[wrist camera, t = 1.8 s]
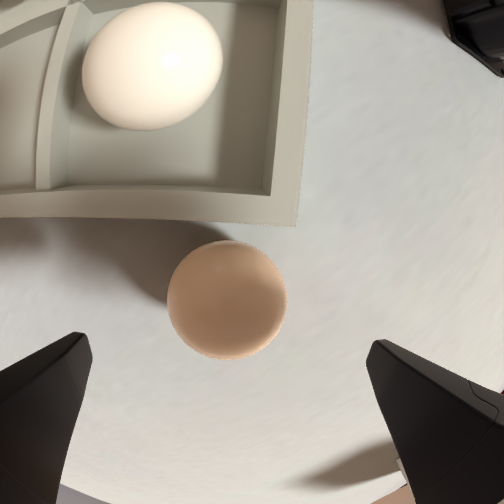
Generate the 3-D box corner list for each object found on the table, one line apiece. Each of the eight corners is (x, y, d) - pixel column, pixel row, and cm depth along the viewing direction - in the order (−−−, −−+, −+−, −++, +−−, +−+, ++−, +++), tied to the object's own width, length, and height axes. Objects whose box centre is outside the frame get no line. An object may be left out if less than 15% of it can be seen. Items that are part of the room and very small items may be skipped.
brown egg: (280, 230, 13) (312, 270, 8) (269, 319, 14) (288, 383, 10) (176, 224, 12) (151, 263, 8) (177, 316, 14) (163, 381, 9)
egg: (228, 36, 9) (234, -26, 4) (216, 138, 10) (213, 122, 6) (121, 40, 8) (77, -8, 4) (106, 138, 10) (43, 131, 5)
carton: (299, -82, 6) (310, -106, 3) (278, 211, 13) (295, 226, 10) (24, -41, 4) (8, -54, 1) (-37, 209, 10) (-66, 220, 7)
